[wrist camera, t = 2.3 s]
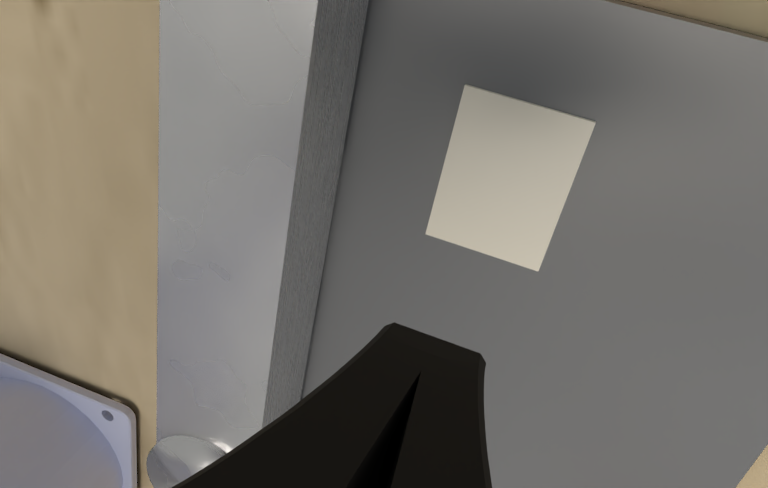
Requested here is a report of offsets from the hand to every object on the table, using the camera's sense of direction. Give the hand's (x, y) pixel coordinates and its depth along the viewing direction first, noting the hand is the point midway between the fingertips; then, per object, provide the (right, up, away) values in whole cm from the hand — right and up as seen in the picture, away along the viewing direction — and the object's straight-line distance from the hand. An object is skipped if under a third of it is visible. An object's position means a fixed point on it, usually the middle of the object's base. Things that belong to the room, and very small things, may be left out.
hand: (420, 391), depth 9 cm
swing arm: (-4, +2, +9) cm, 10 cm away
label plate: (+2, 0, +9) cm, 9 cm away
